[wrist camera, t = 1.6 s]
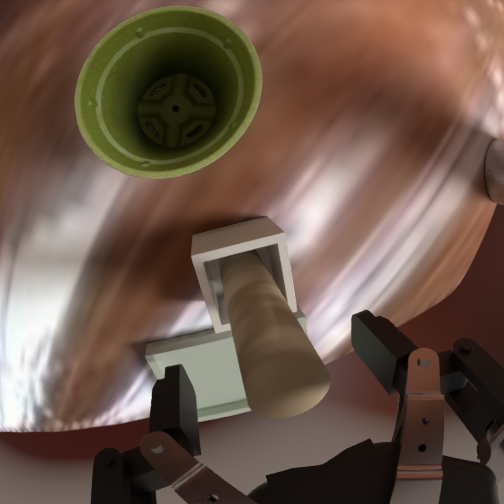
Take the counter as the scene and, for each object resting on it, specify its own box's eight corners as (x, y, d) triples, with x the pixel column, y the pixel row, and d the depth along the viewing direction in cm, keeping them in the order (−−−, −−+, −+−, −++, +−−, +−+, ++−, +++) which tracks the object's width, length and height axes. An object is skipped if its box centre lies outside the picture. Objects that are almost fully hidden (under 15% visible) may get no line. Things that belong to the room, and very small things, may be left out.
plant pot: (263, 116, 20) (300, 93, 12) (171, 195, 21) (154, 218, 13) (187, 37, 17) (183, -20, 9) (96, 114, 18) (44, 96, 10)
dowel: (255, 239, 22) (329, 349, 9) (263, 277, 24) (330, 403, 11) (214, 249, 22) (238, 377, 9) (224, 287, 23) (256, 426, 10)
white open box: (267, 216, 23) (284, 232, 18) (279, 283, 25) (297, 311, 20) (192, 234, 22) (190, 256, 18) (211, 300, 24) (215, 333, 20)
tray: (298, 305, 26) (305, 316, 24) (307, 380, 30) (313, 392, 28) (147, 343, 25) (144, 356, 23) (185, 411, 29) (185, 423, 27)
